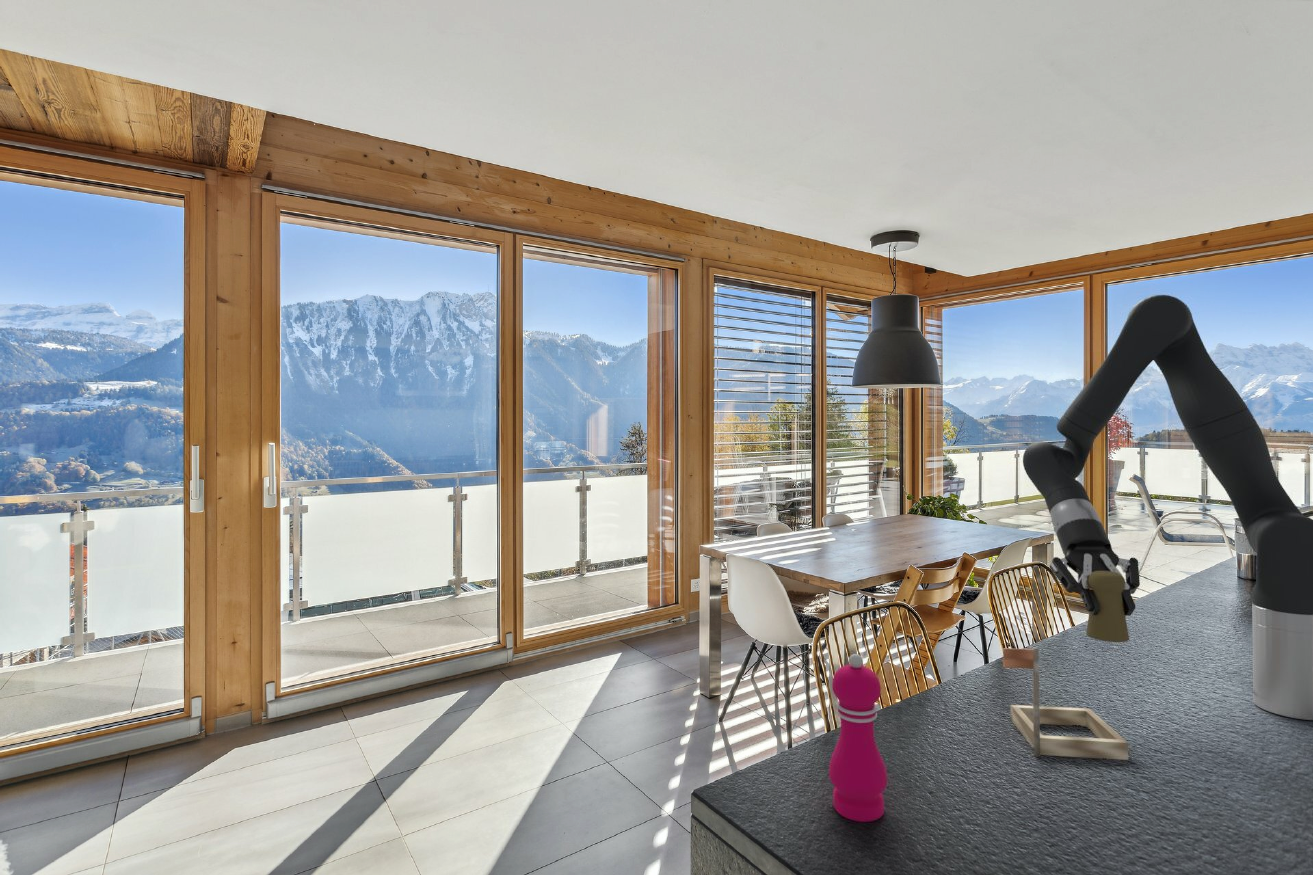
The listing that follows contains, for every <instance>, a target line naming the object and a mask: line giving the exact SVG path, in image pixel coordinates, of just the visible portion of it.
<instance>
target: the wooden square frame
mask: <svg viewBox="0 0 1313 875" xmlns="http://www.w3.org/2000/svg"><path fill="white" fill-rule="evenodd" d="M1039 651H1040V650H1039V647H1036V646H1035V647H1032V648H1007V647H1004V648H1003V649H1002V658H1003V659H1002V661H1003V662H1002V664H1003V666H1002V667H1003V668H1009V669H1011V668H1012V669H1027V670H1028V669H1032V705H1022V704H1021V705H1019V704H1009V705H1010V720H1011V722H1012V723H1013V725H1014V726H1015V727H1016V728H1017V730H1018V731H1019V732H1020V733H1021V734H1022V736H1023V737H1024V738H1025V740H1026V741H1027V742H1028V743H1029V744H1030V746H1031V747H1032V748H1033V756H1034V757H1036V758H1040V757H1041V756H1054V757H1055V756H1056V757H1071V758H1085V759H1086V758H1087V759H1089V758H1090V759H1103V758H1104V759H1105V758H1106V759H1107V760H1124V761H1129V742H1128V741H1127V740H1126V739H1125V738H1124V737H1122V736H1121V735H1120V734H1119V733H1118V732H1116V731H1115V730H1114V729H1113V728H1112V727H1111V726H1110V725H1109V724H1107V722H1105V721H1104V720H1103V718H1101V717H1100V716H1099V715H1098V714H1096V713H1095V712H1094V711H1093V710H1092V708H1087V707H1086V708H1084V707H1061V706H1045V705H1044V706H1043V705H1041V706H1040V663H1039V662H1040V661H1039V660H1040V659H1039V658H1040V656H1039V655H1040V654H1039V653H1040V652H1039ZM1040 725H1052V726H1053V725H1057V726H1072V725H1077V726H1078V725H1081V726H1080V727H1086V728H1087V727H1088V728H1087V729H1088V730H1089V729H1090V731H1091V733H1092V734H1094V736H1095V737H1083V736H1082V737H1081V736H1080V737H1077V736H1066V735H1062V736H1060V735H1044V734H1043V733H1042V732H1041V729H1040V727H1041V726H1040ZM1077 726H1076V727H1077ZM1106 759H1105V760H1106Z"/></svg>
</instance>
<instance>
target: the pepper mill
mask: <svg viewBox="0 0 1313 875" xmlns="http://www.w3.org/2000/svg"><path fill="white" fill-rule="evenodd" d="M863 664H864V659H863V658H862V656H861V655H860V654H857V653H853V654H851V655H850V656H849V658H848V664H846V665H843V666H841V667H839V668H838V669H837V670H836V672H835V673H834V675H833V678H832V683H831V687H832V691H833V694H834V696H835V697H836V699H837V700H838V701H836V707H837V709H836V714H837V716H839V717H840V718H839V719H840V733H839V738H838V741H837V743H836V746H835V748H834V750H833V752H832V755H831V758H830V761H829V769H828V776H829V779H830V782H831V783H832V785H833V786H834V787H835V788H834V789H833V791H832V795H833V796H832V798H833V799H832V801H833V802H832V803H833V808H834V810H835V811H836V812H837V813H838V814H839V815H840V816H842V817H844V818H846V819H848V820H851V821H854V822H860V823H861V822H862V823H865V822H868V823H869V822H874V821H877V820H878V819H880V818H882V816H884V813H885V805H884V804H885V802H884V800H885V799H884V796H883V794H882V793H884V791H885V790H886V788H887V785H888V773H887V768H886V765H885V762H884V759H883V757H882V755H881V753H880V751H879V749H878V746H877V744H876V743H877V742H876V739H875V733H874V731H875V730H874V722H875V720H876V719H877V718H878V713H877V710H878V706H877V704H876V703H877V701H878V700H879V698H880V696H881V691H882V688H881V682H880V679H879V677H878V676H877V674H876V673H875V672H874V671H873V670H872V669H870V668H869V667H866V666H864V665H863Z"/></svg>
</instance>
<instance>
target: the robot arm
mask: <svg viewBox="0 0 1313 875" xmlns="http://www.w3.org/2000/svg"><path fill="white" fill-rule="evenodd" d="M1124 322H1125V323H1124V324H1123V326H1122V329H1121V331H1120V332H1119V335H1118V337H1117V339H1116V340H1115V343H1114V344H1113V346H1112V348H1111V350H1109V353H1108V355H1107V356H1106V357H1105V359H1104V361H1103V362H1102V364H1101V365H1099V368H1098V369H1097V370H1096V372H1095V373H1094V374H1093V375H1092V377H1090V379H1089V380H1088V382H1087V383H1086V384H1085V386H1084V387H1083V388H1082V389H1081V390H1080V392H1079V393H1078V394H1077V396H1076V397H1075V398H1074V400H1073V401H1072V403H1071V404H1069V406H1068V407H1067V409H1066V410H1065V412H1064V413H1063V415H1062V416H1061V417H1060V419H1059V420H1058V422H1057V423H1056V429H1057V431H1058V433H1059V434H1061V435H1062V436H1063V437H1064V438H1065V442H1064V444H1063V446H1062V447H1061V446H1058V445H1056V444H1053V443H1050V442H1046V441H1035V442H1034V443H1031V444H1029V445H1028V447H1026V449H1025V450H1024V453H1023V457H1022V464H1023V469H1024V471H1025V473H1026V475H1027V476H1028V478H1029V480H1030V481H1031V482H1032V484H1033V486H1034V487H1035V488H1036V489H1037V491H1038V492H1039V493H1040V494H1041V496H1042V497H1043V498H1044V501H1045V503H1046V507H1047V509H1048V512H1049V514H1050V519H1051V524H1052V527H1053V531H1054V533H1055V535H1056V537H1057V540H1058V543H1059V545H1060V548H1061V551H1062V553H1063V556H1064V557H1063V558H1059V557H1057V556H1054V557H1053V559H1052V561H1051V562H1050V564H1049V569H1050V570H1051V572H1052V573H1053V575H1055V577H1056V579H1057V581H1059V583H1060V584H1061V585H1062V587H1063V588H1064V589H1065V591H1066V592H1067V593H1069V594H1072V593H1075V594H1078V595H1079V596H1080V598H1081V600H1082V602H1083V605H1084V607H1085V610H1086V611H1087V612H1088V613H1089V612H1090V613H1091V615H1097V614H1098V613H1099V611H1100V607H1099V604H1098V602H1097V599H1096V597H1095V594H1094V592H1093V590H1092V589H1091V587H1090V585H1089V583H1088V578H1089V575H1090V574H1091V573H1092V572H1094V571H1112V572H1116V573H1119V574H1121V575H1122V573H1125V588H1124V590H1123V591H1122V593H1121V594H1122V600H1123V605H1124V612H1125V617H1127V616H1129V617H1131V616H1132V614H1133V613H1134V611H1135V610H1136V603H1135V601H1134V599H1133V597H1132V595H1134V594H1135V593H1136V591H1137V589H1138V588H1139V587H1140V585H1141V580H1140V570H1139V559H1137V558H1136V557H1130V558H1129V559H1125V558H1120V557H1119V556H1118V555H1117V553H1116V552H1114V550H1113V547H1112V544H1111V542H1110V539H1109V537H1108V535H1107V532H1106V530H1105V528H1104V526H1103V523H1102V520H1101V518H1100V517H1099V515H1098V512H1097V511H1096V509H1095V507H1094V506H1093V505H1092V504H1093V503H1092V502H1091V499H1090V497H1089V496H1088V493H1087V491H1086V489H1085V487H1084V485H1083V484H1082V483H1081V482H1080V481H1079V480H1077V478H1078V477H1079V476H1080V474H1081V473H1082V472H1083V470H1084V467H1085V465H1086V463H1087V460H1088V457H1089V455H1090V452H1091V450H1092V447H1093V445H1094V443H1095V440H1096V438H1097V437H1098V436H1099V434H1100V433H1101V432H1102V431H1103V430H1104V428H1105V427H1106V426H1107V424H1108V423H1109V422H1110V420H1111V419H1112V418H1113V416H1114V415H1115V414H1116V412H1117V411H1118V409H1119V408H1120V406H1121V405H1122V403H1123V401H1124V400H1125V398H1126V397H1127V395H1128V393H1129V392H1130V390H1131V389H1132V387H1133V386H1134V384H1135V383H1136V382H1137V380H1138V379H1139V377H1140V376H1142V373H1143V372H1144V371H1145V370H1146V369H1147V367H1148V366H1149V365H1150V364H1152V362H1153V361H1154V363H1155V364H1156V366H1157V367H1158V369H1159V370H1160V372H1161V373H1162V375H1163V377H1164V379H1165V381H1166V384H1167V387H1168V390H1169V392H1170V397H1171V399H1172V401H1173V402H1172V403H1173V405H1174V407H1175V410H1176V413H1177V415H1178V417H1179V419H1180V421H1181V423H1182V425H1183V428H1184V430H1185V431H1186V433H1187V436H1188V437H1189V438H1190V439H1191V442H1192V443H1193V445H1194V447H1195V448H1196V449H1197V451H1198V453H1199V455H1200V456H1201V457H1202V459H1203V461H1204V462H1205V464H1206V466H1207V468H1209V470H1210V471H1211V473H1212V474H1213V475H1214V478H1216V480H1217V481H1218V482H1219V483H1220V485H1221V486H1222V487H1223V489H1224V490H1225V492H1226V494H1227V496H1228V497H1229V499H1230V501H1231V504H1232V506H1233V508H1234V511H1235V512H1236V514H1237V516H1238V519H1239V521H1240V524H1241V526H1242V529H1243V532H1244V534H1245V536H1246V539H1247V541H1248V544H1249V546H1250V547H1251V548H1252V550H1253V551H1254V552H1255V553H1256V581H1255V584H1254V586H1253V587H1252V590H1251V605H1252V606H1251V608H1252V610H1251V614H1252V616H1251V618H1252V619H1251V620H1252V621H1251V622H1252V686H1253V687H1252V688H1253V689H1252V694H1253V697H1252V700H1253V704H1254V705H1255V706H1256V707H1258V708H1260V709H1262V710H1264V711H1266V712H1269V713H1272V714H1276V715H1279V716H1283V717H1287V718H1292V719H1298V720H1306V721H1313V518H1310V517H1309V516H1305V515H1304V514H1303V512H1302V511H1301V510H1300V509H1299V508H1298V506H1297V505H1296V504H1295V503H1294V502H1293V500H1292V498H1291V497H1290V496H1289V495H1288V493H1287V491H1286V490H1285V489H1284V487H1283V485H1282V484H1281V482H1280V480H1279V479H1278V476H1277V475H1276V472H1275V468H1274V465H1273V462H1272V458H1271V454H1270V450H1269V447H1268V444H1267V441H1266V439H1265V436H1264V434H1263V432H1262V429H1261V427H1260V425H1259V424H1258V422H1257V420H1256V418H1255V417H1254V415H1253V414H1252V412H1251V410H1250V408H1249V407H1248V405H1247V403H1246V401H1244V400H1243V398H1242V397H1241V395H1240V394H1239V392H1238V391H1237V390H1236V388H1235V387H1234V385H1233V384H1232V383H1231V381H1230V380H1229V379H1228V378H1227V377H1226V376H1225V374H1224V372H1222V371H1221V369H1220V368H1219V367H1218V366H1217V365H1216V363H1215V362H1214V360H1213V359H1212V357H1211V356H1210V354H1209V353H1208V350H1207V348H1206V346H1205V344H1204V342H1203V340H1202V337H1201V335H1200V333H1199V331H1198V328H1197V326H1196V324H1195V321H1194V318H1193V315H1192V312H1191V310H1190V307H1189V306H1187V304H1186V303H1185V302H1184V301H1183V300H1181V299H1179V298H1177V297H1175V296H1172V295H1169V294H1168V295H1167V294H1155V295H1151V296H1148V297H1145V298H1143V299H1142V300H1139V302H1137V303H1136V304H1135V305H1134V306H1133V307H1132V308H1131V309H1130V311H1129V312H1128V315H1127V318H1126V321H1124ZM1117 566H1119V567H1120V568H1121V570H1122V573H1121V571H1120V570H1119V569H1118V568H1117ZM1068 568H1070V569H1071V570H1073V572H1075V573H1076V574H1077V579H1076V578H1075V577H1074V575H1073V574H1072V572H1070V570H1069V569H1068ZM1122 576H1123V575H1122Z"/></svg>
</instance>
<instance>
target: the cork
mask: <svg viewBox="0 0 1313 875" xmlns="http://www.w3.org/2000/svg"><path fill="white" fill-rule="evenodd" d="M1121 574H1122V573H1121ZM1121 574H1119V573H1116V572H1112V571H1094V572H1092V573H1091V574H1090V575H1089V578H1088V583H1089V585H1090V587H1091V588H1090V590H1093V592H1094V594H1095V597H1096V599H1097V602H1098V604H1099V607H1100V611H1099V613H1098V614H1097V615H1091V613H1090V612H1088V619H1087V626H1086V633H1085V634H1086V636H1087V637H1088V638H1091V639H1094V640H1098V641H1102V642H1109V643H1110V642H1111V643H1125V642H1129V641H1130V635H1129V630H1128V624H1127V618H1126V617H1127V616H1125V612H1124V605H1123V600H1122V594H1121V593H1122V591H1123V590H1124V588H1125V582H1126V578H1125V577H1124V576H1123V575H1121Z"/></svg>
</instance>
